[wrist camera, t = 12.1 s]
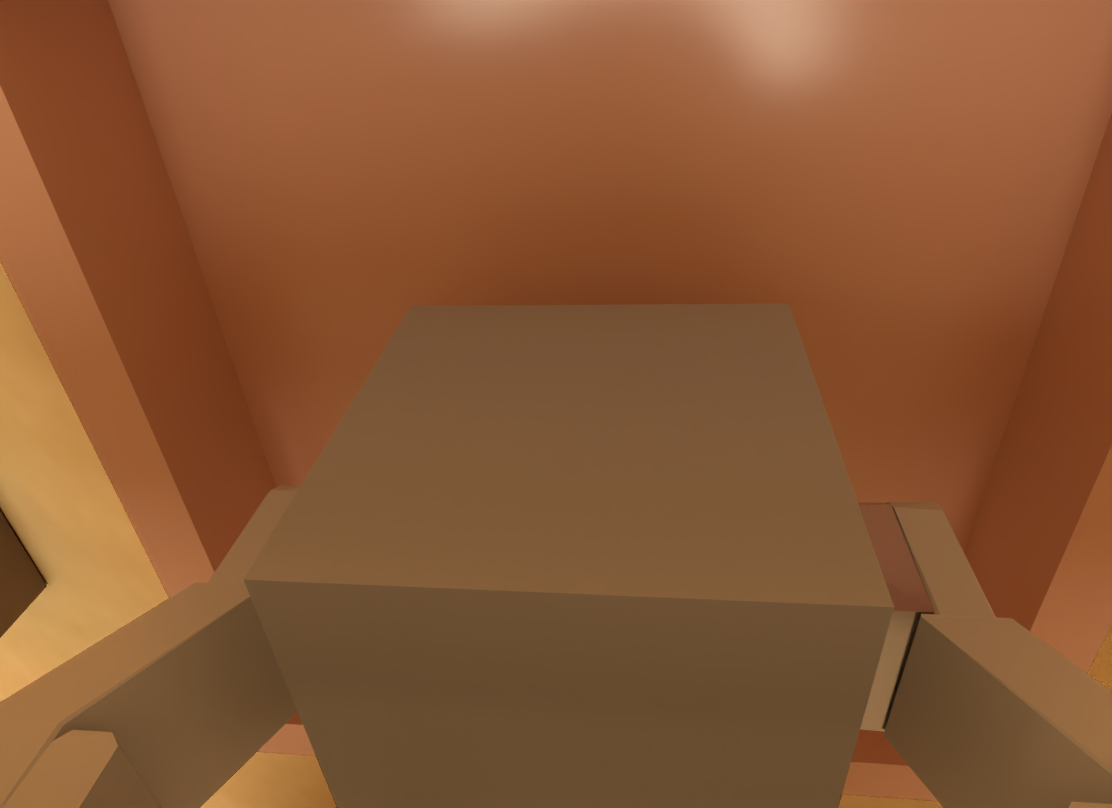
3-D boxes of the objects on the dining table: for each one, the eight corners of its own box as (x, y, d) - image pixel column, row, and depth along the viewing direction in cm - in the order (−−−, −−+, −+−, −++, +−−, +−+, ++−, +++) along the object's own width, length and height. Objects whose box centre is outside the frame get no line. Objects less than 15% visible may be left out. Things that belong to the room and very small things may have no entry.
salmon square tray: (1289, -237, 7) (1604, -310, 5) (957, 659, 15) (1016, 806, 13) (29, -129, 9) (-203, -143, 7) (305, 627, 17) (245, 750, 14)
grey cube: (789, 303, 9) (894, 607, 5) (754, 579, 11) (806, 919, 7) (410, 305, 9) (243, 580, 5) (458, 568, 12) (367, 879, 8)
